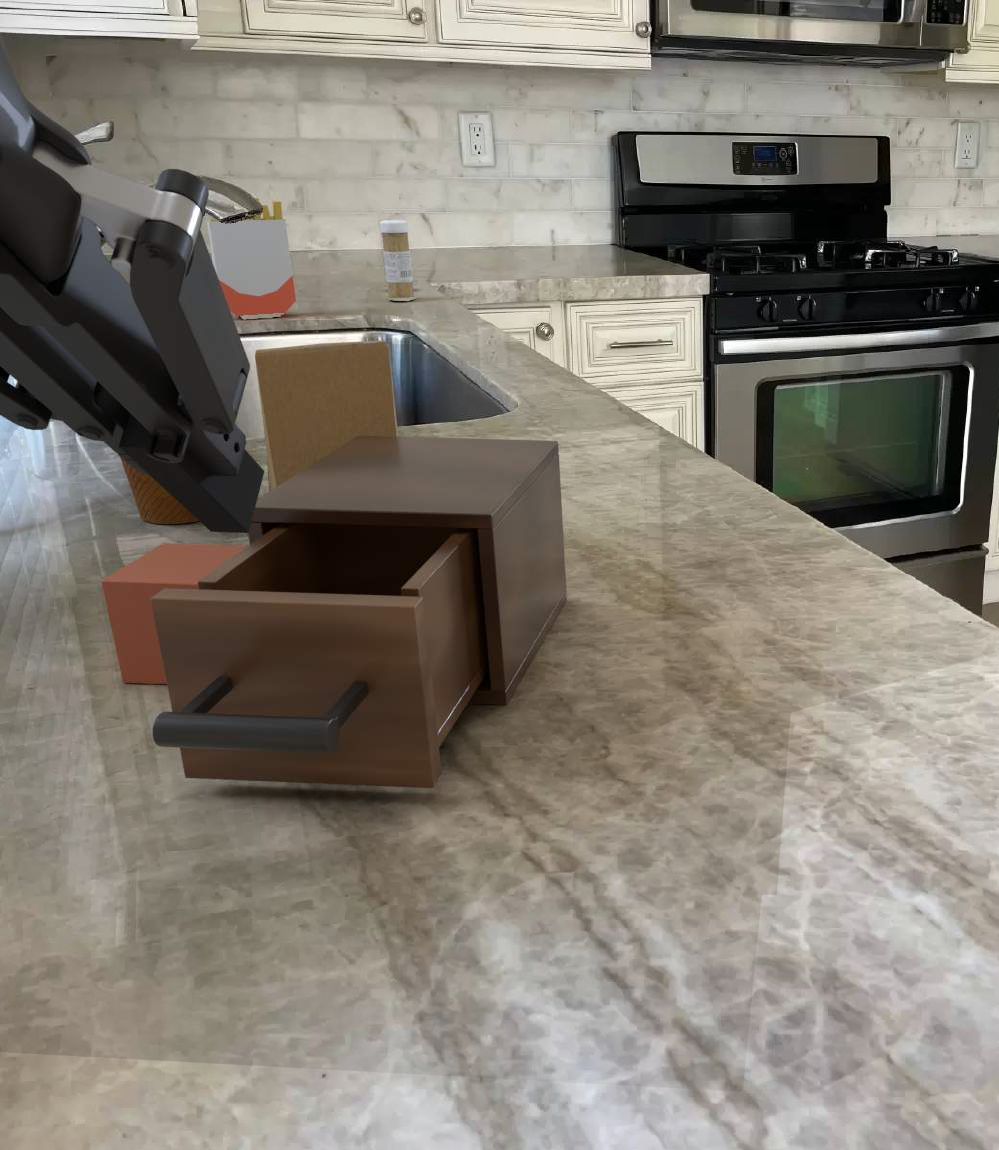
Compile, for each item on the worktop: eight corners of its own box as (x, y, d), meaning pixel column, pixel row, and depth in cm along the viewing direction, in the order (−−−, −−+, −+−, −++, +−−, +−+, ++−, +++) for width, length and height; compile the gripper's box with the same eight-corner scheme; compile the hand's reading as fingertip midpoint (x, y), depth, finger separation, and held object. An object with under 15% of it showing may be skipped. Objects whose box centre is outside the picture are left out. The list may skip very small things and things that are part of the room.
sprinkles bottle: (409, 298, 203) (401, 219, 198) (419, 301, 200) (411, 221, 195) (384, 300, 201) (375, 220, 196) (393, 303, 197) (385, 221, 192)
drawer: (394, 853, 46) (369, 657, 43) (121, 841, 47) (77, 646, 44) (513, 659, 64) (501, 508, 60) (312, 651, 64) (290, 502, 61)
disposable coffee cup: (239, 488, 96) (216, 344, 92) (261, 518, 88) (237, 363, 84) (111, 505, 91) (80, 354, 87) (123, 539, 84) (90, 376, 79)
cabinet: (506, 705, 60) (491, 514, 57) (273, 696, 61) (243, 507, 57) (567, 600, 74) (558, 440, 70) (376, 593, 75) (356, 435, 71)
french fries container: (219, 317, 180) (200, 197, 174) (291, 312, 186) (275, 196, 179) (224, 321, 177) (205, 199, 170) (298, 316, 182) (282, 197, 176)
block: (122, 683, 62) (100, 580, 60) (181, 637, 68) (162, 542, 66) (229, 687, 62) (211, 584, 60) (279, 641, 68) (264, 545, 65)
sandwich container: (378, 491, 95) (357, 309, 90) (412, 548, 83) (391, 339, 77) (267, 504, 92) (238, 314, 86) (285, 566, 79) (253, 348, 74)
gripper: (-706, 94, 22) (46, 583, 43) (-44, 105, 21) (384, 596, 43) (-510, -166, 25) (102, 413, 46) (75, -163, 24) (419, 422, 46)
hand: (237, 500), depth 44 cm, fingers closed
